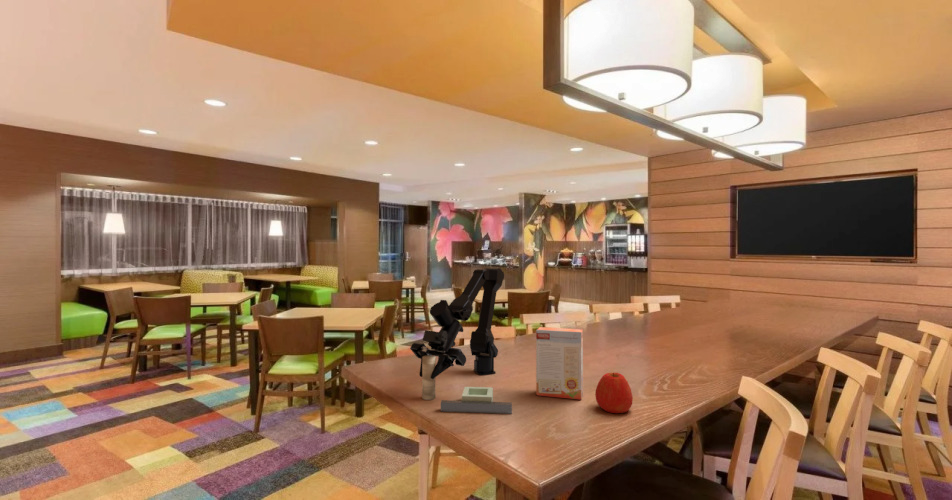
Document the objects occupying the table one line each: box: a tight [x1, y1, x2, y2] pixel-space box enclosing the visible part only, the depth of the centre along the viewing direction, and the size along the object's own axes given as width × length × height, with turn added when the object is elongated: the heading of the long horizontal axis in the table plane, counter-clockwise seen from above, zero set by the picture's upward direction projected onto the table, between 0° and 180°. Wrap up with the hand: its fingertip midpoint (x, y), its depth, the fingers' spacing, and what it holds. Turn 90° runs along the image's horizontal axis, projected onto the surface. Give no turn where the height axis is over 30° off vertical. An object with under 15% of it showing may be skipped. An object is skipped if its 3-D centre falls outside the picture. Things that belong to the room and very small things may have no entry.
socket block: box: [461, 386, 494, 402], centre depth 129 cm, size 9×9×4 cm
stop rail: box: [440, 399, 513, 415], centre depth 123 cm, size 2×20×2 cm, turn 85°
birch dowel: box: [421, 355, 436, 401], centre depth 134 cm, size 4×4×12 cm
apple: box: [594, 372, 634, 414], centre depth 125 cm, size 10×10×10 cm
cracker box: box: [535, 326, 584, 401], centre depth 137 cm, size 14×6×21 cm, turn 71°
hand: (426, 377), depth 133 cm, fingers closed on birch dowel, 4 cm apart
